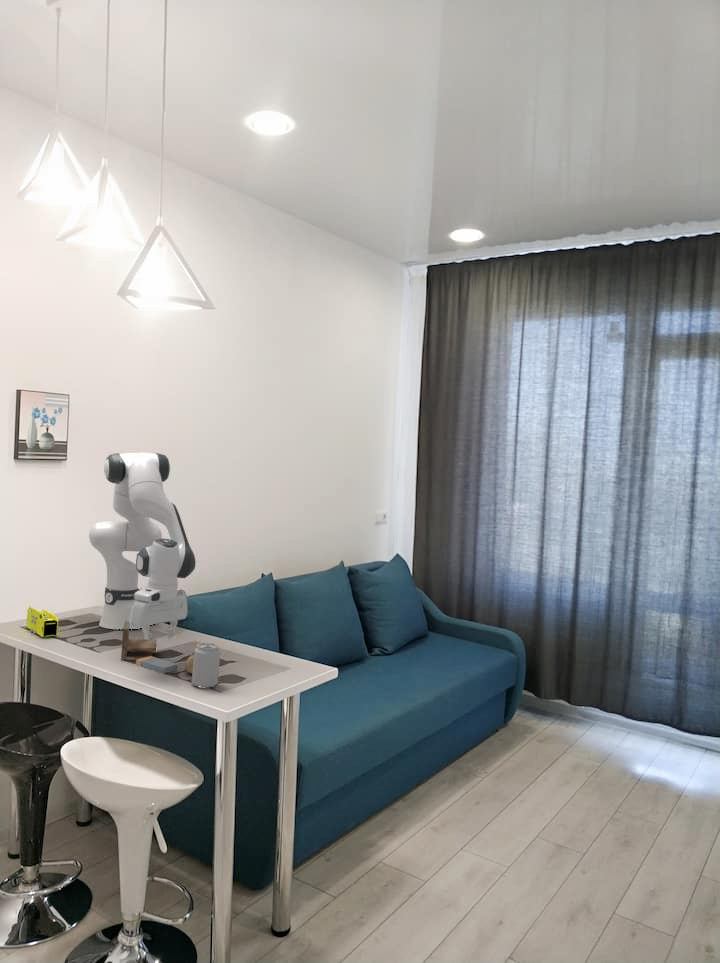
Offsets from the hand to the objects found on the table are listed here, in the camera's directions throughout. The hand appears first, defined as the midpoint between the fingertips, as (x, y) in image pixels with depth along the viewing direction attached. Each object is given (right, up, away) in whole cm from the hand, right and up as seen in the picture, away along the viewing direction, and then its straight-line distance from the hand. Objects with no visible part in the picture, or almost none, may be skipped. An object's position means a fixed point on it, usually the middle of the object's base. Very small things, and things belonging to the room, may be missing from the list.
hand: (159, 636), depth 231 cm
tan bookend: (-9, -9, +12) cm, 17 cm away
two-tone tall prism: (-1, -10, +1) cm, 10 cm away
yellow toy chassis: (-49, -5, +29) cm, 57 cm away
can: (+17, -12, -13) cm, 24 cm away
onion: (+13, -11, -2) cm, 17 cm away
